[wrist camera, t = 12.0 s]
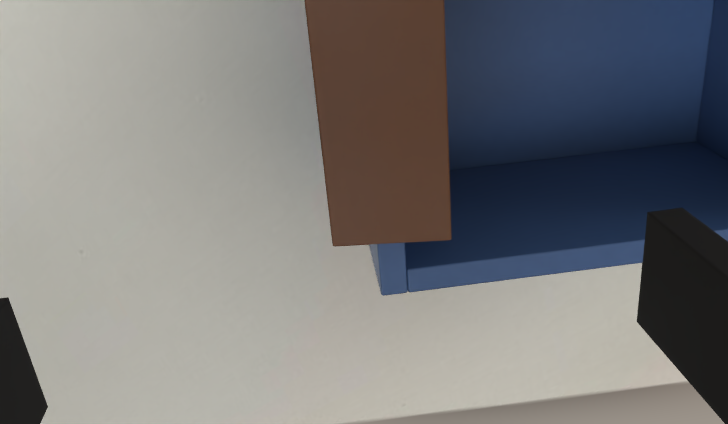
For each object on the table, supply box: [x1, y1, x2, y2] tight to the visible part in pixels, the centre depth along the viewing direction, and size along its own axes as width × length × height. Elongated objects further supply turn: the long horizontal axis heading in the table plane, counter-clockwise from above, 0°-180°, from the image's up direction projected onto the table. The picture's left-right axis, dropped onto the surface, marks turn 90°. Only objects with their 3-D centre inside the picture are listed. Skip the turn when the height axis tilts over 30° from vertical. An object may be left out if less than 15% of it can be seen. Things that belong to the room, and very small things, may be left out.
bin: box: [369, 0, 728, 295], centre depth 27 cm, size 18×16×10 cm
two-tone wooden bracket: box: [305, 0, 452, 246], centre depth 24 cm, size 4×11×7 cm, turn 5°
